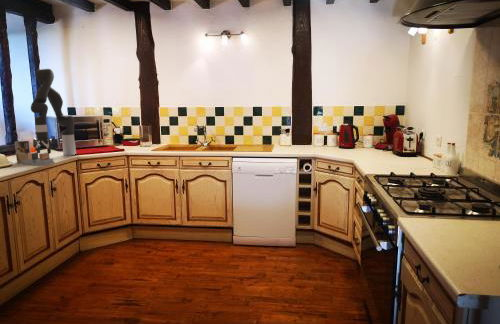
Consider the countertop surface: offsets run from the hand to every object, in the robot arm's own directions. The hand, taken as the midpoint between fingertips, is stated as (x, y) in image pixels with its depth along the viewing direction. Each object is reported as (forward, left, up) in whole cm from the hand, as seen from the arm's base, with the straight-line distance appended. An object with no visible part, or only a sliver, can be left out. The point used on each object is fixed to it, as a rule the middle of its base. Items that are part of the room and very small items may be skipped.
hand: (43, 153), depth 269 cm
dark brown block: (0, 0, -7) cm, 7 cm away
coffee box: (-2, -19, -8) cm, 21 cm away
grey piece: (0, -5, -8) cm, 9 cm away
